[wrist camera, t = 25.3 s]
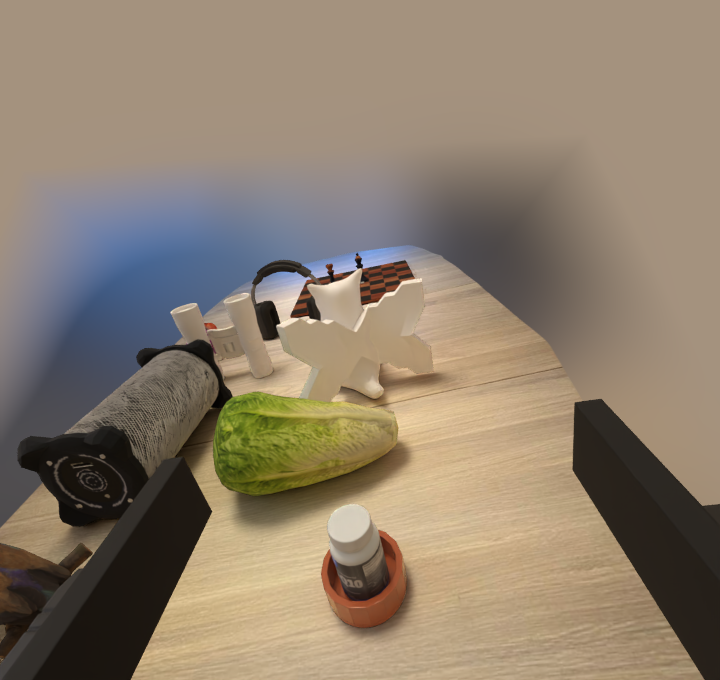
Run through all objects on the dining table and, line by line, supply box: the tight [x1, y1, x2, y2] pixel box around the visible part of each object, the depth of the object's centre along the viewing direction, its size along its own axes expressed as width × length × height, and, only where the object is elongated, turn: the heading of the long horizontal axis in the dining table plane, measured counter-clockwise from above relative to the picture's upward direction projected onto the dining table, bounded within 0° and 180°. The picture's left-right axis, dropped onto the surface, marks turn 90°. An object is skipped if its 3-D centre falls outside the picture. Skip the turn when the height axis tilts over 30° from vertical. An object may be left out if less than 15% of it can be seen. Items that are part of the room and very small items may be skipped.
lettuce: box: [213, 392, 398, 496], centre depth 51 cm, size 14×24×14 cm
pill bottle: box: [327, 504, 389, 601], centre depth 35 cm, size 5×5×8 cm
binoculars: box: [171, 293, 273, 380], centre depth 81 cm, size 17×5×18 cm, turn 88°
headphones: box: [251, 260, 321, 339], centre depth 98 cm, size 22×6×20 cm, turn 79°
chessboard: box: [291, 253, 415, 318], centre depth 128 cm, size 40×40×11 cm
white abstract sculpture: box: [276, 268, 434, 402], centre depth 68 cm, size 25×21×21 cm
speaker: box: [18, 339, 232, 527], centre depth 60 cm, size 15×28×15 cm, turn 176°
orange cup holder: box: [321, 530, 407, 628], centre depth 36 cm, size 8×8×3 cm
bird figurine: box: [0, 543, 92, 658], centre depth 39 cm, size 13×10×20 cm
